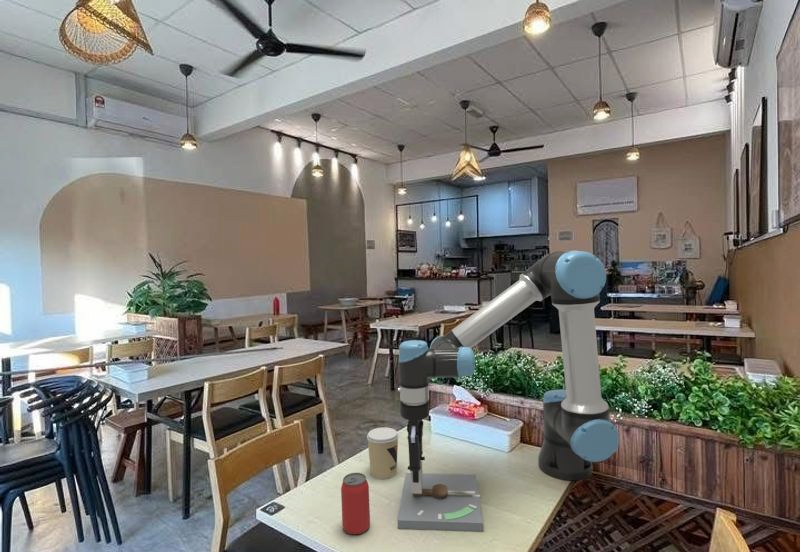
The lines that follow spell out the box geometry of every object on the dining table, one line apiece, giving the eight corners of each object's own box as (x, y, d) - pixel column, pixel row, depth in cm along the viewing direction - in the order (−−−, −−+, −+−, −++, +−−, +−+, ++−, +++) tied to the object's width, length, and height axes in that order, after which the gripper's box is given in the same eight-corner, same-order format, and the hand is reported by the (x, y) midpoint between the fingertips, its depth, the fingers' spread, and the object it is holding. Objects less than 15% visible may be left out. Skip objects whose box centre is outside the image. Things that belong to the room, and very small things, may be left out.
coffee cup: (395, 481, 121) (394, 440, 121) (364, 479, 123) (363, 438, 123) (402, 465, 131) (400, 427, 130) (372, 463, 133) (371, 426, 132)
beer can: (337, 527, 102) (335, 478, 101) (358, 515, 106) (356, 468, 106) (354, 540, 97) (352, 488, 96) (375, 526, 101) (374, 477, 101)
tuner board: (476, 481, 120) (476, 473, 120) (484, 531, 98) (484, 522, 98) (405, 479, 122) (405, 472, 122) (397, 528, 100) (397, 519, 100)
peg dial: (474, 490, 111) (473, 458, 111) (475, 499, 107) (474, 466, 107) (412, 488, 113) (411, 457, 113) (411, 497, 109) (410, 464, 109)
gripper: (404, 391, 118) (406, 473, 119) (395, 411, 103) (398, 505, 104) (430, 391, 117) (433, 474, 118) (426, 412, 102) (429, 507, 103)
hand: (417, 489), depth 111 cm, fingers closed on peg dial, 3 cm apart
